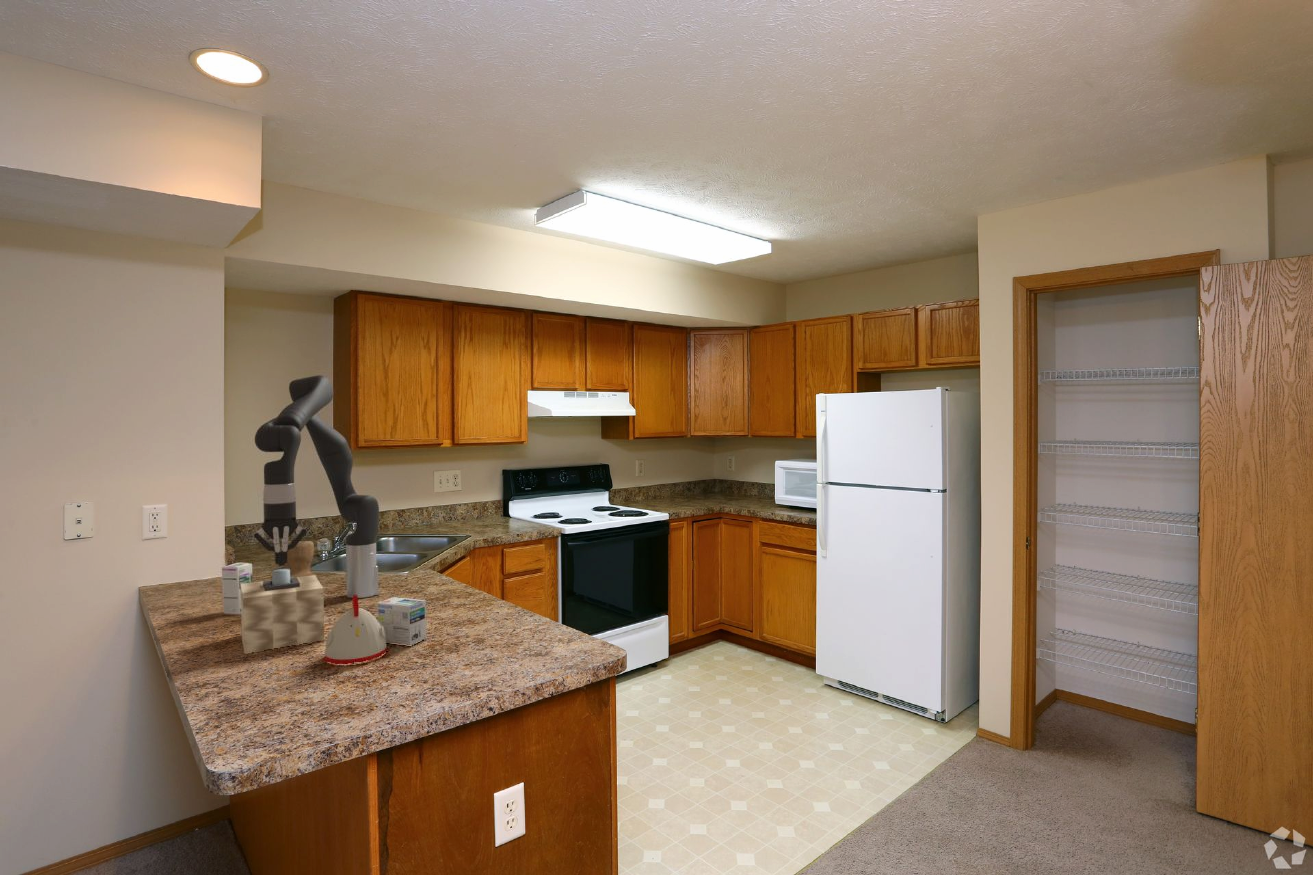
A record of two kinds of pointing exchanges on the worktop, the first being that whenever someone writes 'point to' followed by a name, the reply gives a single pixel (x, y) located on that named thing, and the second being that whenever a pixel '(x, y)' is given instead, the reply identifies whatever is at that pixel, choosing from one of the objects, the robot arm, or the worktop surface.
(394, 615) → the light bulb box
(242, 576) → the syrup box
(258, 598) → the birch block
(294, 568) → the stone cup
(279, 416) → the robot arm
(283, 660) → the worktop surface
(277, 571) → the dowel
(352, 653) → the kitchen timer
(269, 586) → the rubber collar
